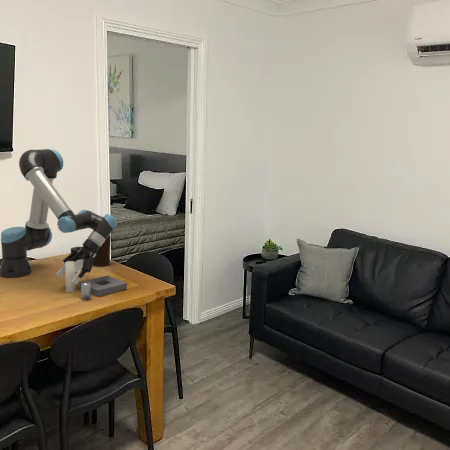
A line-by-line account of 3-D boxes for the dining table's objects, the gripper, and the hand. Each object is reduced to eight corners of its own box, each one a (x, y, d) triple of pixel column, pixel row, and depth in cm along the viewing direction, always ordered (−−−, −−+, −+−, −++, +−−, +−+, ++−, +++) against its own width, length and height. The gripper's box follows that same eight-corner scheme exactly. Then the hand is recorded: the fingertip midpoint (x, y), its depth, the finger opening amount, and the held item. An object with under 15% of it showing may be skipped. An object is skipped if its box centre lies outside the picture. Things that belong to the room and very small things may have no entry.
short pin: (79, 298, 214) (79, 283, 213) (87, 296, 217) (87, 281, 216) (84, 300, 212) (84, 285, 210) (92, 298, 215) (92, 283, 213)
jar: (82, 273, 251) (81, 250, 249) (67, 271, 252) (67, 249, 250) (90, 268, 260) (89, 247, 257) (76, 267, 261) (75, 245, 259)
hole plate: (79, 288, 227) (78, 282, 227) (107, 281, 239) (107, 275, 239) (98, 296, 217) (98, 290, 216) (127, 289, 229) (127, 283, 228)
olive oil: (112, 261, 274) (111, 218, 269) (109, 267, 264) (108, 222, 259) (93, 261, 273) (92, 218, 268) (89, 266, 263) (88, 222, 258)
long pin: (64, 291, 223) (63, 262, 220) (72, 289, 226) (71, 260, 223) (69, 293, 220) (68, 263, 218) (76, 291, 223) (76, 262, 220)
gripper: (113, 252, 223) (86, 290, 215) (84, 242, 239) (57, 277, 231) (104, 243, 218) (75, 281, 210) (74, 233, 234) (46, 269, 226)
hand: (65, 279), depth 220 cm, fingers open, 13 cm apart
